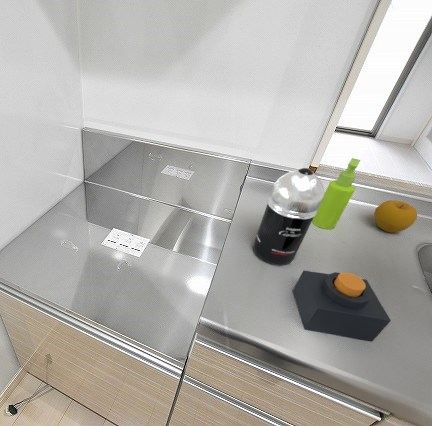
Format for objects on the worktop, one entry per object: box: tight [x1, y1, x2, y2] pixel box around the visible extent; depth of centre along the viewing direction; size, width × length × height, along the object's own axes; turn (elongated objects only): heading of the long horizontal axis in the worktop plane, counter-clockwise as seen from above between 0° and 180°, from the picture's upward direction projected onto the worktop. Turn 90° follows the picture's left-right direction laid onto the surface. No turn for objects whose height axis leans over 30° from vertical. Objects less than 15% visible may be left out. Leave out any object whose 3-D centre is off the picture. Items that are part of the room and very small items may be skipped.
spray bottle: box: [252, 167, 325, 266], centre depth 70 cm, size 10×10×25 cm
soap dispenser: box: [311, 157, 361, 230], centre depth 82 cm, size 6×7×20 cm
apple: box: [373, 199, 418, 234], centre depth 82 cm, size 9×8×9 cm
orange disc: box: [334, 272, 366, 297], centre depth 57 cm, size 4×4×2 cm
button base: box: [292, 270, 392, 343], centre depth 60 cm, size 12×10×9 cm
